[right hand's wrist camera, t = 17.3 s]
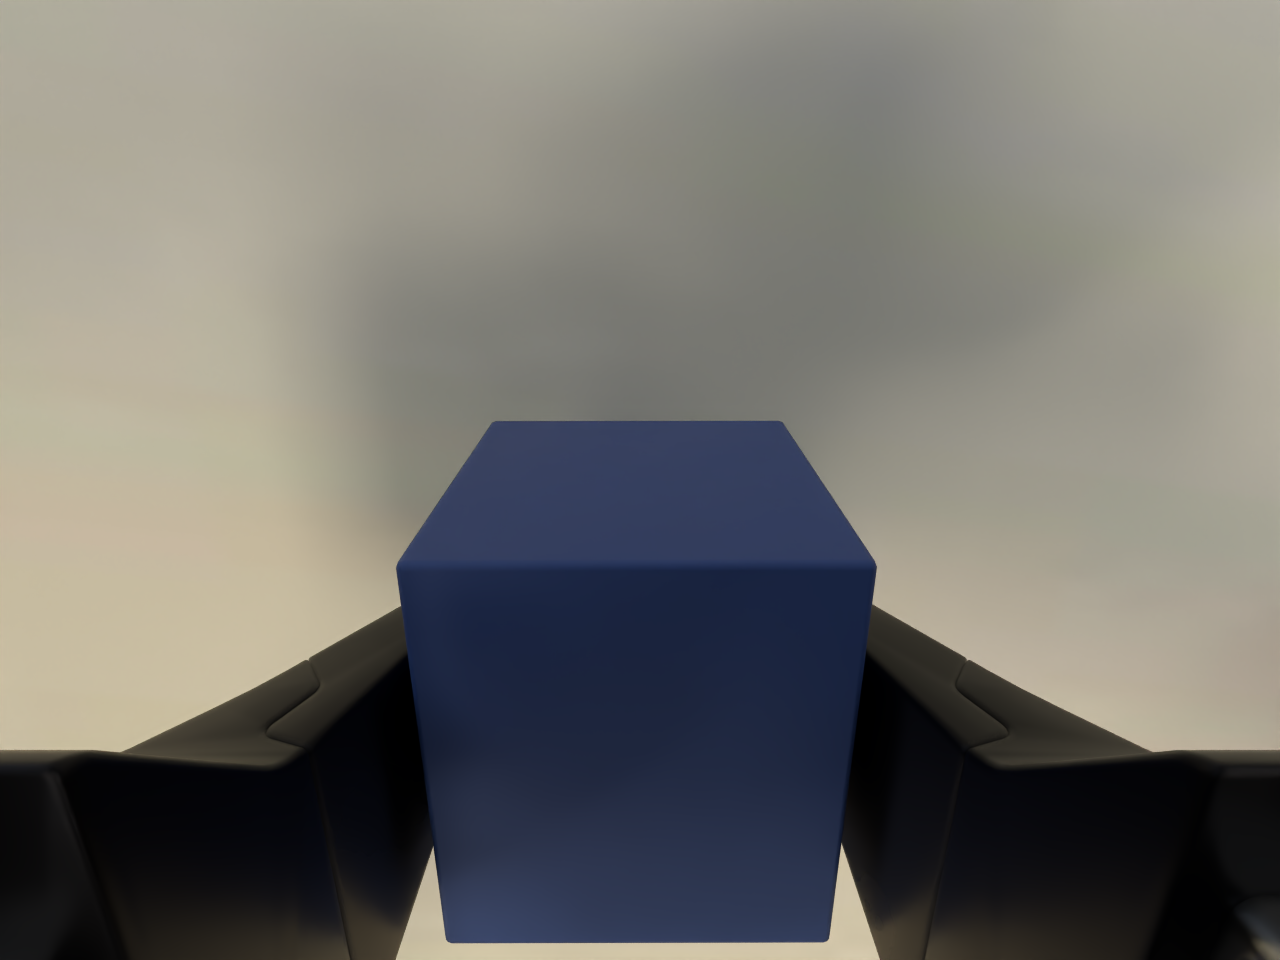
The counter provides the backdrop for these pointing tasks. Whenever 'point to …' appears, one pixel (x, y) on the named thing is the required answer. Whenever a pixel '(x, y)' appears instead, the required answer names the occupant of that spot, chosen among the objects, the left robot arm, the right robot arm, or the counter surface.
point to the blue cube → (636, 683)
